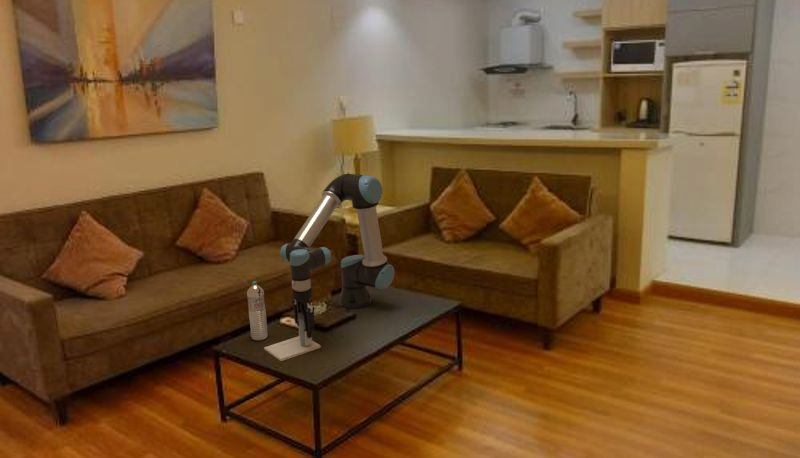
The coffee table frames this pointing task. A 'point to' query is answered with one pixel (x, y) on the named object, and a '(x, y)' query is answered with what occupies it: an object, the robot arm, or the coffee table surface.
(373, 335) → the coffee table surface
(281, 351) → the notepad
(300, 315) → the cylinder
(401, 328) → the coffee table surface
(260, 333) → the water bottle
